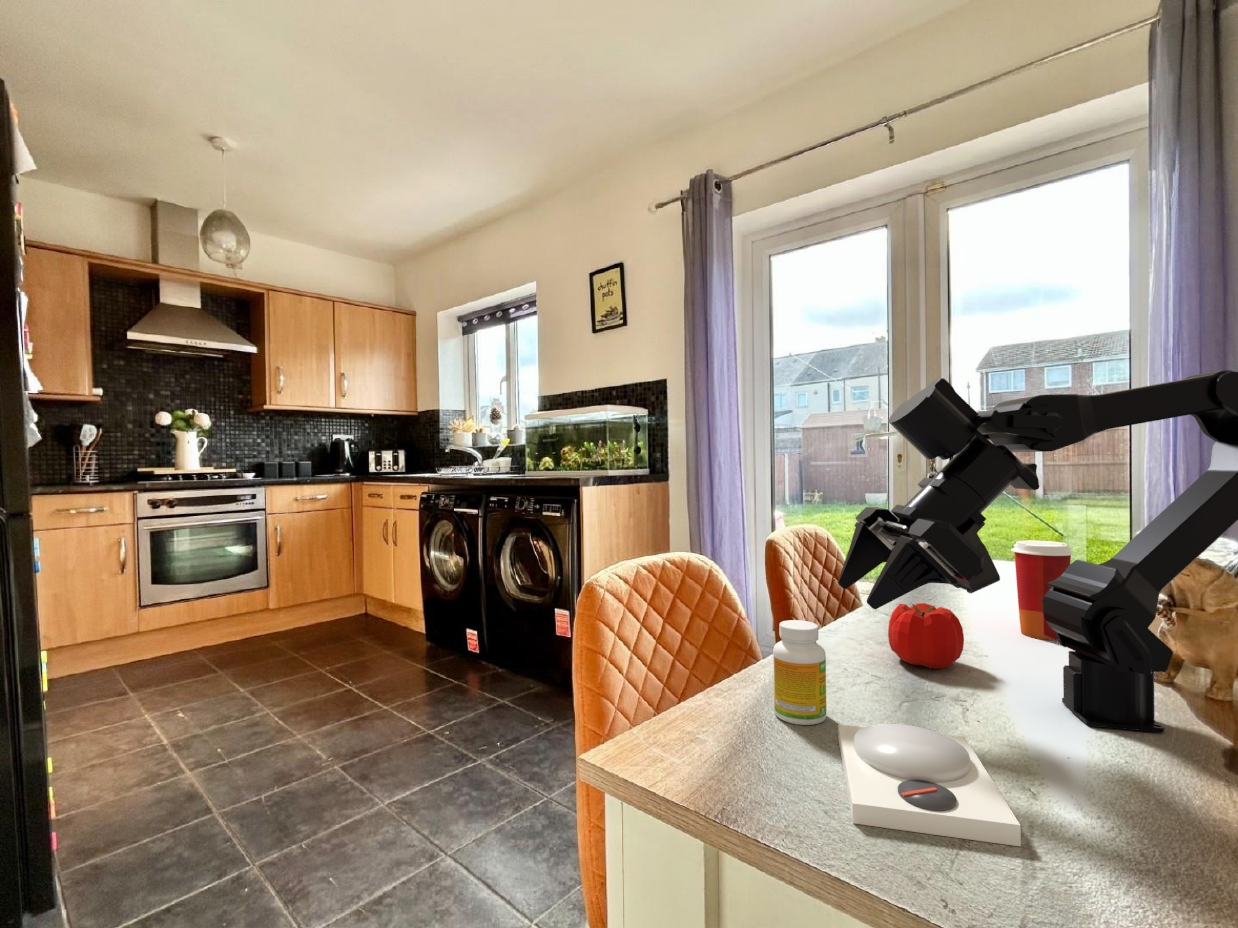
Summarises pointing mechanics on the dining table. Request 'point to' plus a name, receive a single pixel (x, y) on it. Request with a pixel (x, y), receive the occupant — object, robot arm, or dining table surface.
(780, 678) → the supplement bottle
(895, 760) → the kitchen scale
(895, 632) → the tomato
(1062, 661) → the dining table surface
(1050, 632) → the paper cup
